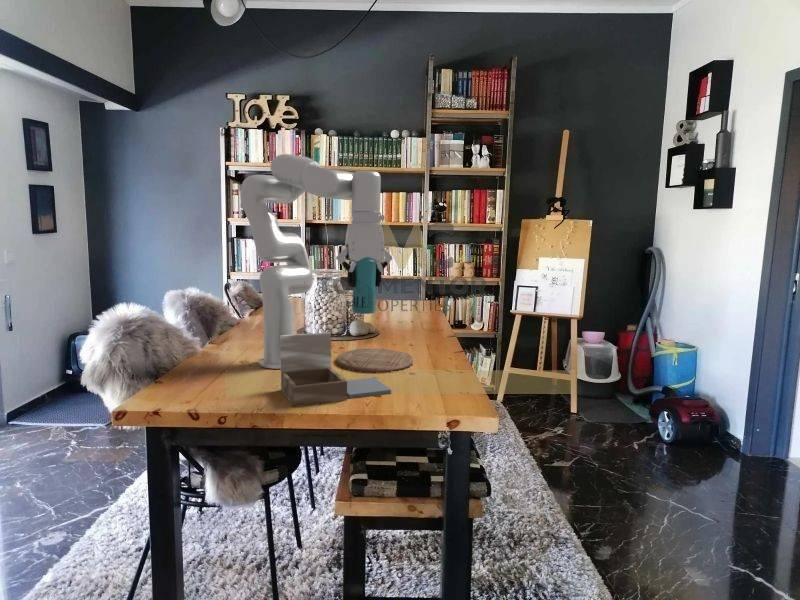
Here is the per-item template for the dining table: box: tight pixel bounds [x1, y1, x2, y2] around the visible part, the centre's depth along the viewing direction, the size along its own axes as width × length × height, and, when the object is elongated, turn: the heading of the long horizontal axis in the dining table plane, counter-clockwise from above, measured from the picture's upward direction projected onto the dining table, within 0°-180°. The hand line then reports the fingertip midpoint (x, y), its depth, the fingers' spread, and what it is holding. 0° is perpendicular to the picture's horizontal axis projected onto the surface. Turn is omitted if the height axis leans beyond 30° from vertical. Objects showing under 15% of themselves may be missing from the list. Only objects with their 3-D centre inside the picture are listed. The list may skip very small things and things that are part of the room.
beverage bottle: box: [351, 257, 377, 315], centre depth 141 cm, size 6×7×20 cm
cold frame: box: [280, 331, 348, 407], centre depth 139 cm, size 15×14×15 cm
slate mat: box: [346, 377, 392, 399], centre depth 146 cm, size 12×12×1 cm
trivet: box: [336, 348, 414, 374], centre depth 174 cm, size 25×25×2 cm
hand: (364, 285), depth 141 cm, fingers closed on beverage bottle, 6 cm apart
